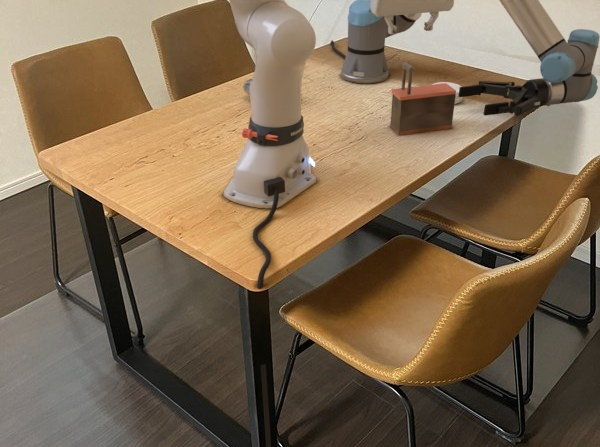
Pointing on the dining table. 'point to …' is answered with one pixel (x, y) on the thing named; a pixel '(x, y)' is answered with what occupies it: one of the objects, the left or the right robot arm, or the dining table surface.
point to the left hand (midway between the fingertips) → (410, 31)
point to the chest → (422, 114)
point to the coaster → (456, 87)
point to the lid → (419, 87)
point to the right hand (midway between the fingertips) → (471, 100)
